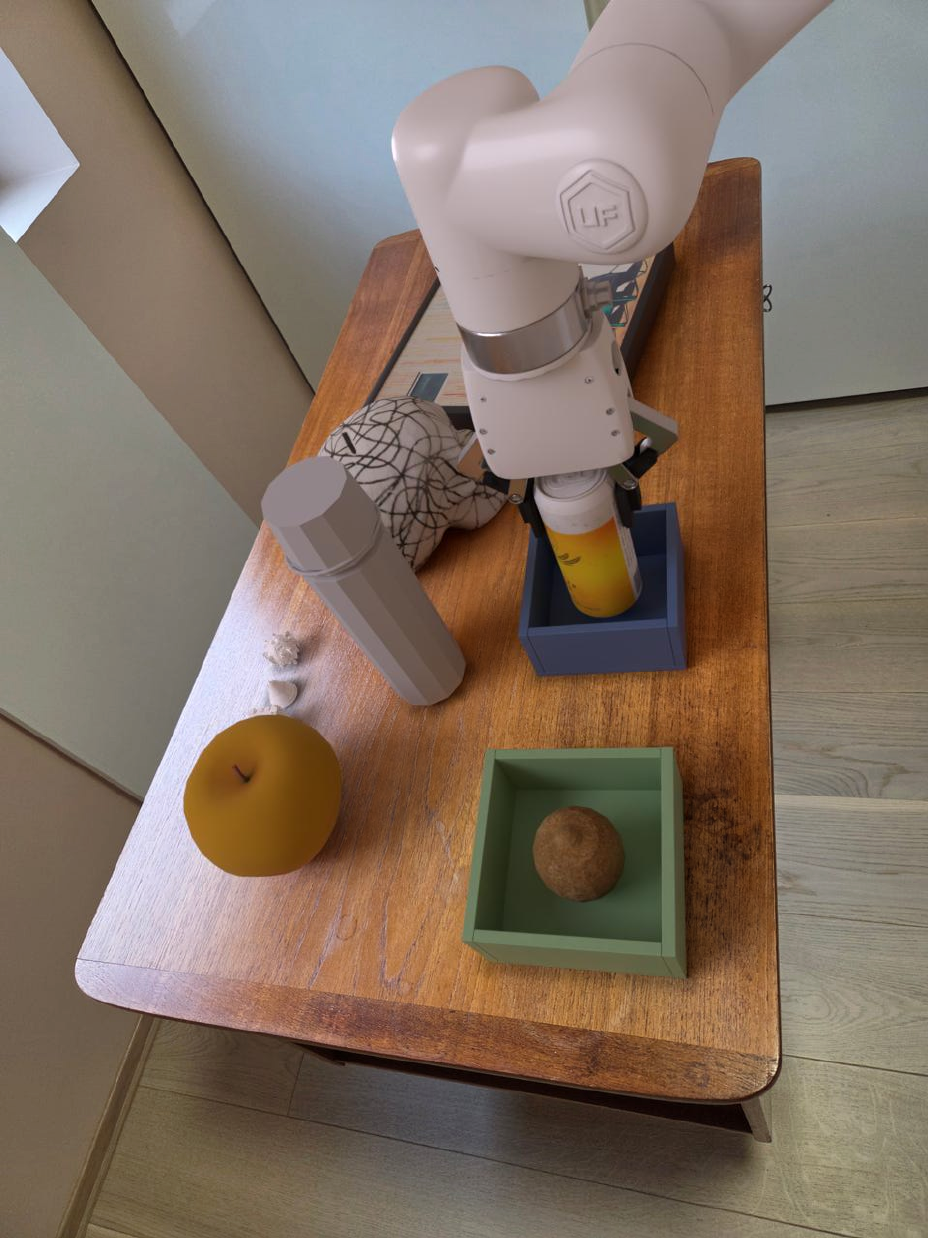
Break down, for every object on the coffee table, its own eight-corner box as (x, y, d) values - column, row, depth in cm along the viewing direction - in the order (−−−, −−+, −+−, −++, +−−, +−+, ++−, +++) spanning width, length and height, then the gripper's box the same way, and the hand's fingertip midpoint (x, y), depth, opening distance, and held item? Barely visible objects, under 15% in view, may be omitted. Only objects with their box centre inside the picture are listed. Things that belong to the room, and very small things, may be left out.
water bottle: (487, 675, 70) (373, 484, 50) (416, 728, 69) (273, 554, 50) (437, 615, 75) (318, 423, 56) (371, 664, 75) (228, 486, 55)
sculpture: (528, 557, 76) (481, 446, 64) (342, 614, 80) (267, 519, 68) (505, 455, 85) (461, 342, 74) (340, 511, 89) (273, 412, 77)
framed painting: (605, 413, 78) (358, 412, 92) (611, 440, 81) (371, 436, 95) (672, 233, 92) (448, 256, 106) (675, 262, 95) (457, 280, 109)
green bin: (682, 783, 58) (673, 746, 53) (686, 979, 51) (675, 957, 46) (509, 783, 63) (485, 749, 58) (490, 962, 56) (461, 941, 51)
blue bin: (683, 549, 70) (675, 501, 65) (686, 669, 64) (678, 626, 59) (548, 562, 75) (531, 518, 70) (537, 676, 68) (517, 636, 63)
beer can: (574, 568, 70) (532, 448, 58) (643, 562, 67) (614, 435, 56) (571, 625, 66) (525, 509, 55) (643, 620, 64) (611, 498, 53)
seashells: (291, 748, 72) (274, 733, 70) (260, 753, 73) (242, 739, 70) (306, 641, 79) (291, 624, 77) (277, 647, 80) (261, 630, 77)
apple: (366, 738, 70) (306, 675, 61) (378, 878, 62) (311, 829, 53) (239, 777, 72) (164, 722, 63) (235, 918, 64) (148, 877, 55)
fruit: (615, 930, 54) (593, 898, 47) (535, 895, 57) (504, 861, 51) (645, 846, 56) (628, 806, 50) (567, 818, 59) (542, 776, 53)
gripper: (674, 248, 45) (700, 468, 58) (400, 310, 50) (484, 496, 64) (676, 330, 41) (704, 545, 54) (378, 387, 46) (472, 568, 60)
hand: (584, 517), depth 59 cm, fingers closed on beer can, 6 cm apart
